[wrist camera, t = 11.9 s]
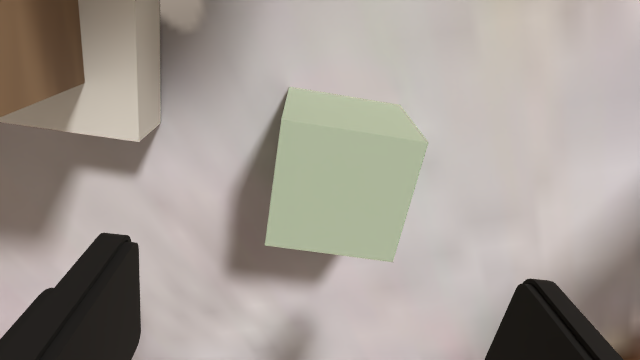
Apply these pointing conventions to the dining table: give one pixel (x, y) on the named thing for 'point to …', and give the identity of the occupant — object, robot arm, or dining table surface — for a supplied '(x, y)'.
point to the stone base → (108, 75)
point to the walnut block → (38, 51)
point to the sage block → (343, 175)
